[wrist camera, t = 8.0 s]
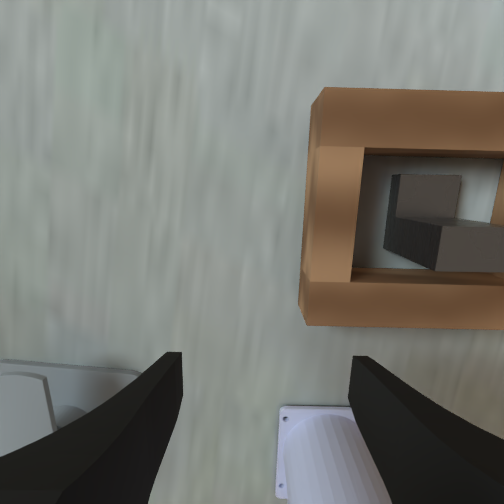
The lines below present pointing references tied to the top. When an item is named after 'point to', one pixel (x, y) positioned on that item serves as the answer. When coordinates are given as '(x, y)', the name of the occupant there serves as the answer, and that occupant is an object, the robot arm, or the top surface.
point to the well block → (347, 199)
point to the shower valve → (50, 397)
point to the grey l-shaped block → (439, 227)
